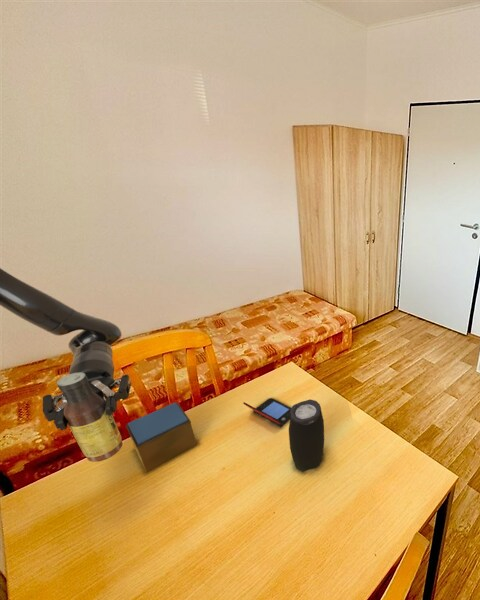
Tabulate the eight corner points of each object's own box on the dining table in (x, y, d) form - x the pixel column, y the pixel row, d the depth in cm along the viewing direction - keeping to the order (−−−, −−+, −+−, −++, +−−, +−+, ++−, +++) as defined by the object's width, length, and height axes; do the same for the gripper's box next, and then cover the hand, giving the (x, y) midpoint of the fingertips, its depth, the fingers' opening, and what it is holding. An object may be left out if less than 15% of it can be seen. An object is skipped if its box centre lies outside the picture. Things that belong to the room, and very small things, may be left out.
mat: (138, 444, 80) (137, 443, 80) (128, 424, 85) (127, 423, 85) (187, 420, 88) (187, 419, 88) (175, 403, 93) (175, 402, 93)
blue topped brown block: (146, 473, 84) (136, 447, 80) (135, 450, 89) (125, 424, 85) (197, 446, 92) (190, 420, 88) (184, 426, 98) (177, 402, 94)
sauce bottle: (130, 446, 71) (102, 375, 62) (96, 468, 65) (60, 395, 57) (113, 434, 73) (84, 364, 64) (78, 455, 68) (42, 382, 59)
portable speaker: (285, 465, 89) (280, 413, 81) (308, 442, 97) (306, 392, 89) (308, 480, 86) (305, 428, 78) (330, 455, 93) (330, 405, 85)
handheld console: (297, 413, 107) (296, 396, 104) (272, 435, 98) (270, 417, 95) (270, 399, 112) (268, 382, 108) (244, 419, 103) (241, 401, 100)
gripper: (41, 369, 68) (24, 420, 57) (127, 350, 77) (128, 391, 65) (54, 396, 71) (41, 449, 60) (135, 375, 80) (137, 418, 68)
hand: (86, 418), depth 62 cm, fingers closed on sauce bottle, 6 cm apart
